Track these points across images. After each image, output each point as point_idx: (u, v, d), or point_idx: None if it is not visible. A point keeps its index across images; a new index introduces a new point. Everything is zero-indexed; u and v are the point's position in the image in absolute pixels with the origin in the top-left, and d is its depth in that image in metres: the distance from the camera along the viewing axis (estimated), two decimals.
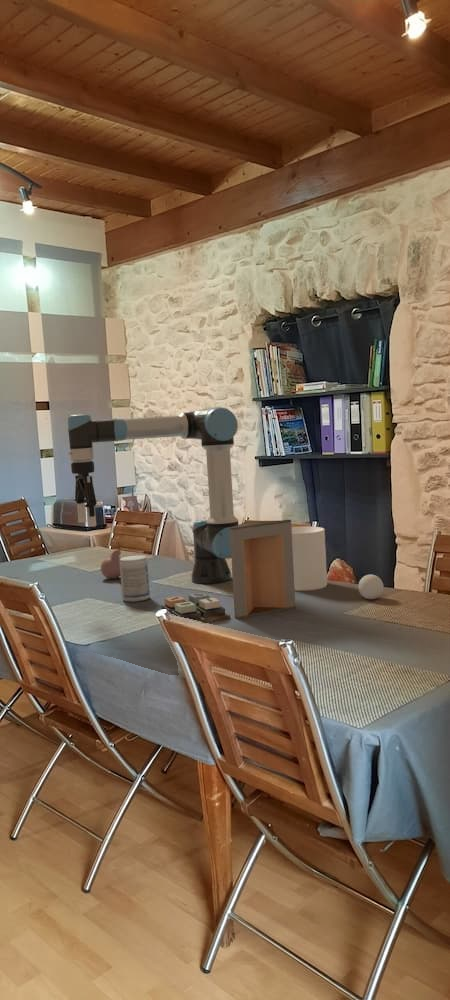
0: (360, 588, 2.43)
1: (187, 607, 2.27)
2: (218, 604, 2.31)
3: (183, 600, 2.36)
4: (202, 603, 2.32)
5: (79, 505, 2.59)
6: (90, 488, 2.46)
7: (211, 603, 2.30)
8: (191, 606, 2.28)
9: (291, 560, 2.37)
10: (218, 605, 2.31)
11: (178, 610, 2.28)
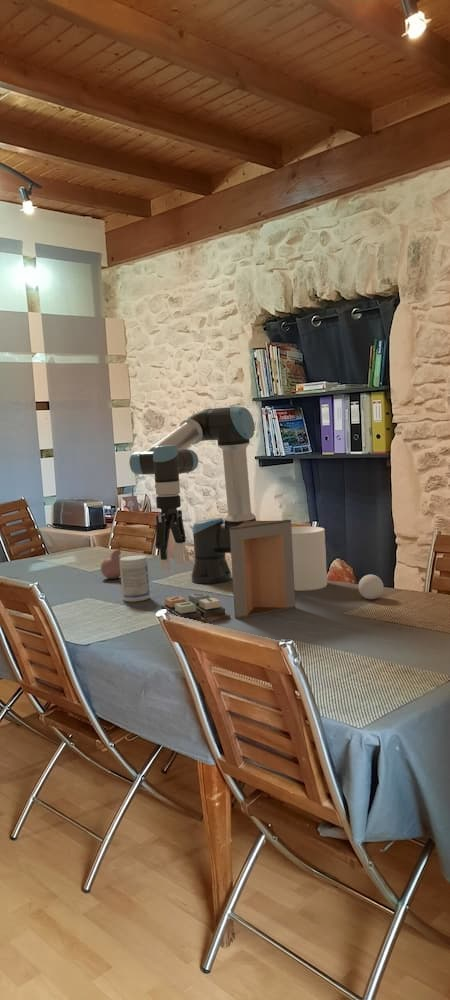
0: (360, 588, 2.43)
1: (187, 607, 2.27)
2: (218, 604, 2.31)
3: (183, 600, 2.36)
4: (202, 603, 2.32)
5: (175, 545, 2.41)
6: (160, 529, 2.29)
7: (211, 603, 2.30)
8: (191, 606, 2.28)
9: (291, 560, 2.37)
10: (218, 605, 2.31)
11: (178, 610, 2.28)
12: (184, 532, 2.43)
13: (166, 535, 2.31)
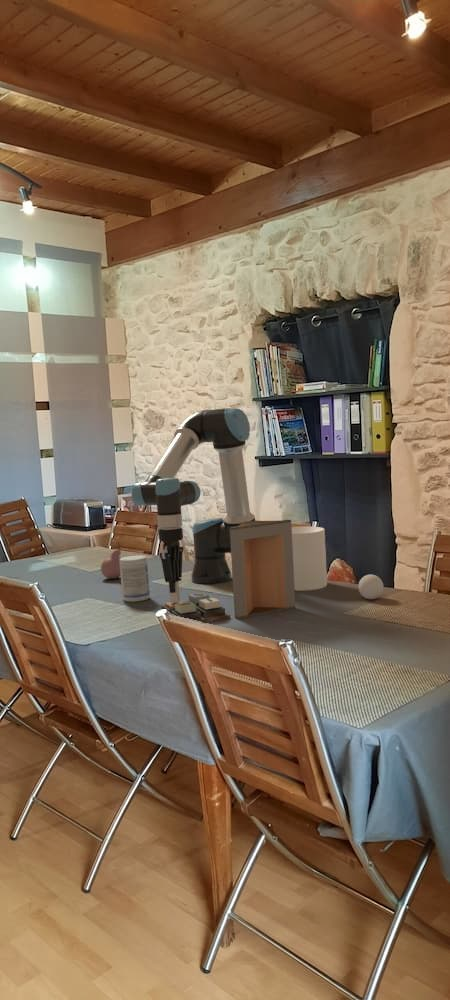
0: (360, 588, 2.43)
1: (187, 607, 2.27)
2: (218, 604, 2.31)
3: None
4: (202, 603, 2.32)
5: None
6: (166, 565, 2.32)
7: (211, 603, 2.30)
8: (191, 606, 2.28)
9: (291, 560, 2.37)
10: (218, 605, 2.31)
11: (178, 610, 2.28)
12: (181, 570, 2.40)
13: (173, 569, 2.35)
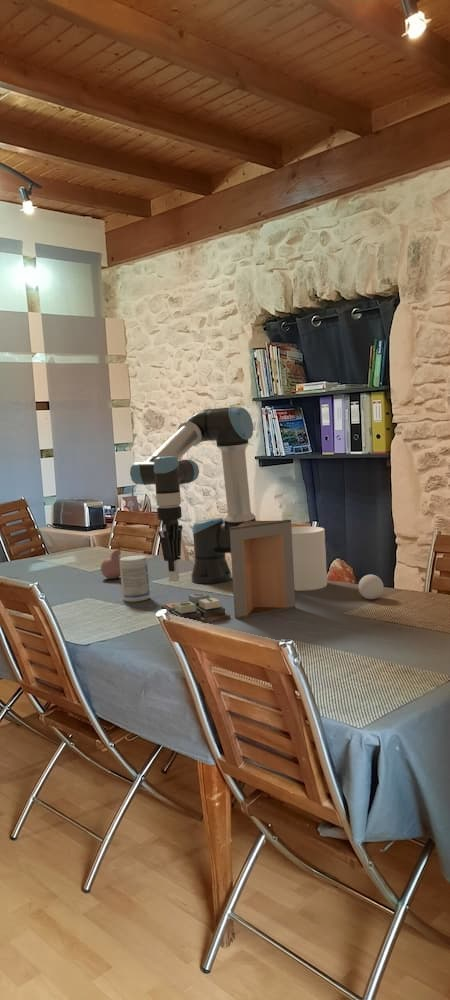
0: (360, 588, 2.43)
1: (187, 607, 2.27)
2: (218, 604, 2.31)
3: None
4: (202, 603, 2.32)
5: None
6: (165, 543, 2.31)
7: (211, 603, 2.30)
8: (191, 606, 2.28)
9: (291, 560, 2.37)
10: (218, 605, 2.31)
11: (178, 610, 2.28)
12: (180, 549, 2.39)
13: (171, 548, 2.34)
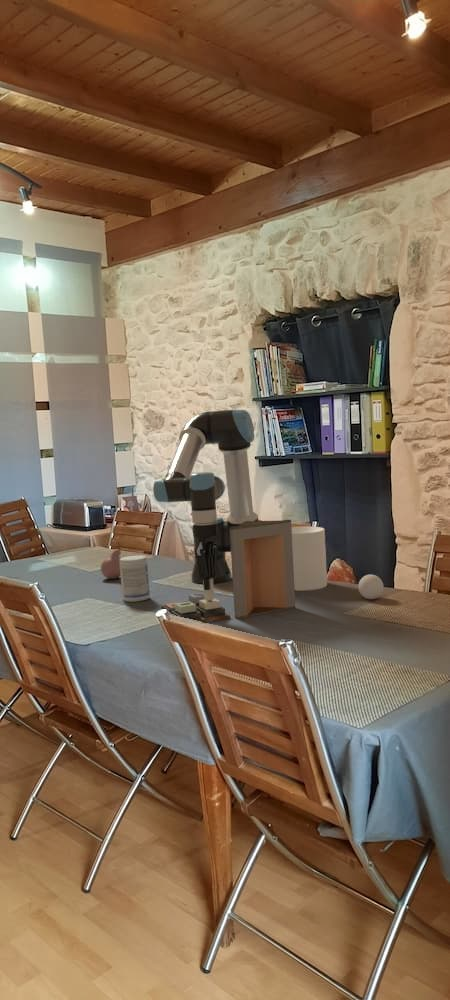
0: (360, 588, 2.43)
1: (187, 607, 2.27)
2: (218, 604, 2.31)
3: None
4: (202, 603, 2.32)
5: None
6: (201, 561, 2.27)
7: (211, 603, 2.30)
8: (191, 606, 2.28)
9: (291, 560, 2.37)
10: (218, 605, 2.31)
11: (178, 610, 2.28)
12: (215, 567, 2.35)
13: (207, 566, 2.30)
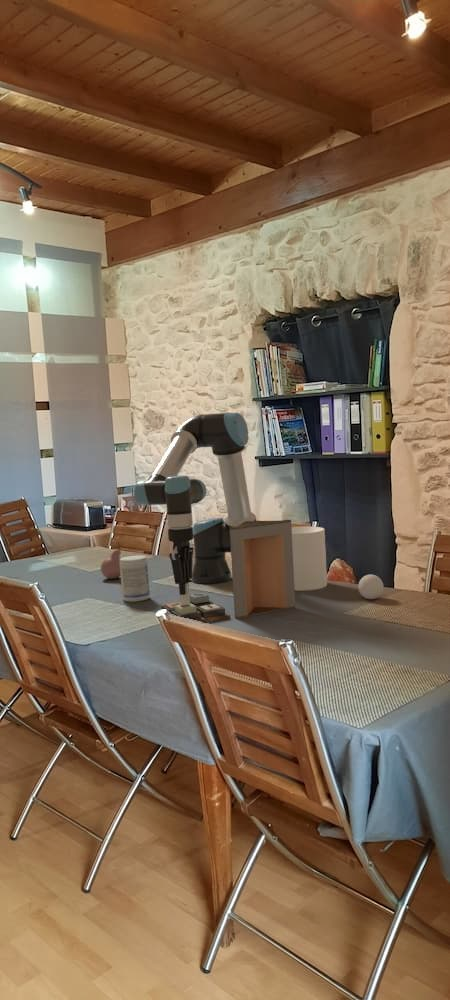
0: (360, 588, 2.43)
1: (187, 609, 2.27)
2: None
3: None
4: (202, 609, 2.32)
5: None
6: (176, 566, 2.24)
7: (211, 609, 2.31)
8: (191, 608, 2.28)
9: (291, 560, 2.37)
10: None
11: (178, 612, 2.28)
12: (191, 571, 2.32)
13: (183, 570, 2.26)
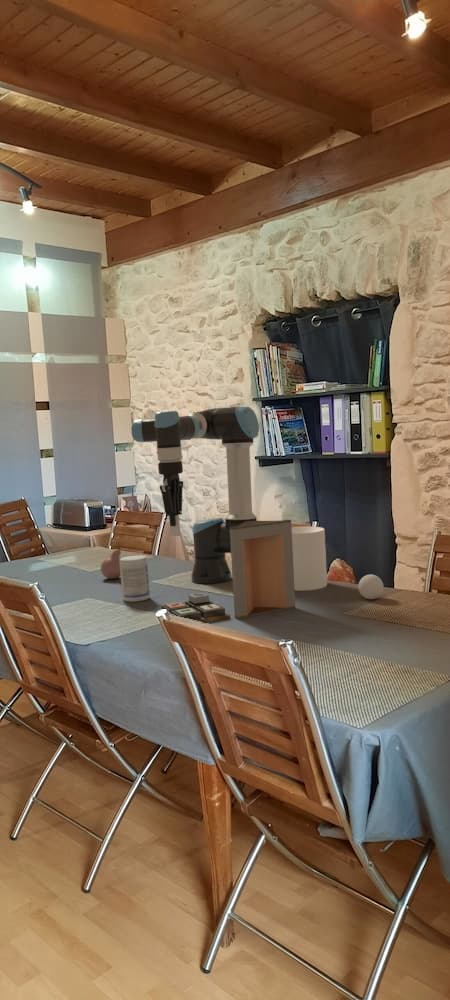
0: (360, 588, 2.43)
1: None
2: None
3: (183, 606, 2.37)
4: (202, 609, 2.32)
5: None
6: (166, 498, 2.32)
7: (211, 609, 2.31)
8: None
9: (291, 560, 2.37)
10: None
11: None
12: (181, 504, 2.41)
13: (173, 502, 2.35)
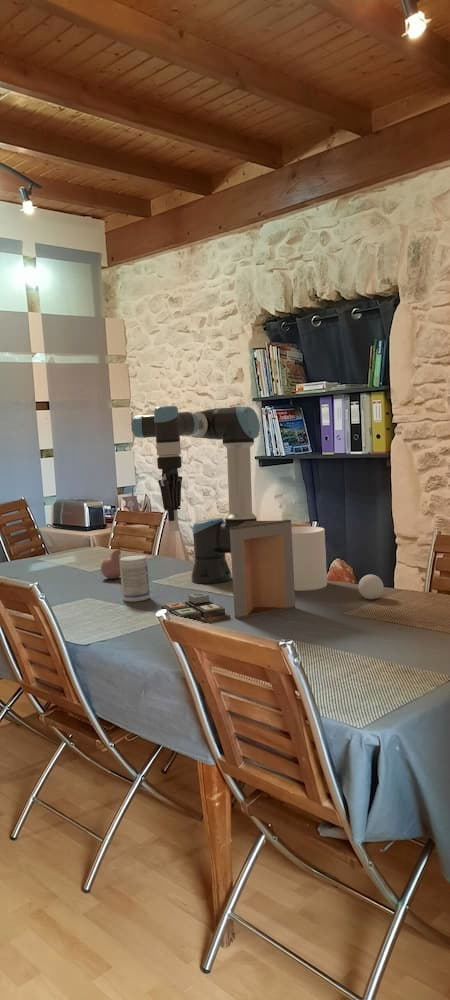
0: (360, 588, 2.43)
1: None
2: None
3: (183, 606, 2.37)
4: (202, 609, 2.32)
5: None
6: (165, 492, 2.33)
7: (211, 609, 2.31)
8: None
9: (291, 560, 2.37)
10: None
11: None
12: (180, 499, 2.41)
13: (171, 497, 2.36)
